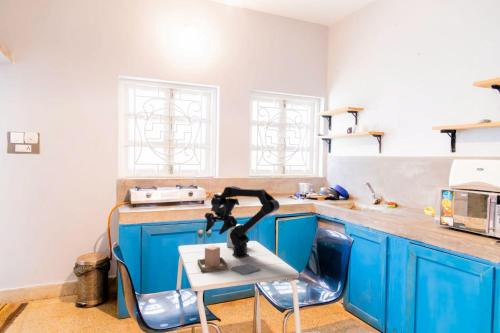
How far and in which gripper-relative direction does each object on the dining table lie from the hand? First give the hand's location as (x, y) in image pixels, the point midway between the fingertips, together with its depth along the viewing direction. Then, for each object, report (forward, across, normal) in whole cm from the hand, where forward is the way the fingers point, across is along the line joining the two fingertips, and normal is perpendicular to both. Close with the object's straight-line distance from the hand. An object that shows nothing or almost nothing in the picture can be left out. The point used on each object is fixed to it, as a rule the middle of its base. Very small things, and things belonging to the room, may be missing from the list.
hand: (212, 232), depth 160 cm
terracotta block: (+15, +7, +4) cm, 17 cm away
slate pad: (+11, +22, +8) cm, 26 cm away
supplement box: (-9, -6, +28) cm, 30 cm away
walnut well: (+15, +7, +4) cm, 17 cm away
